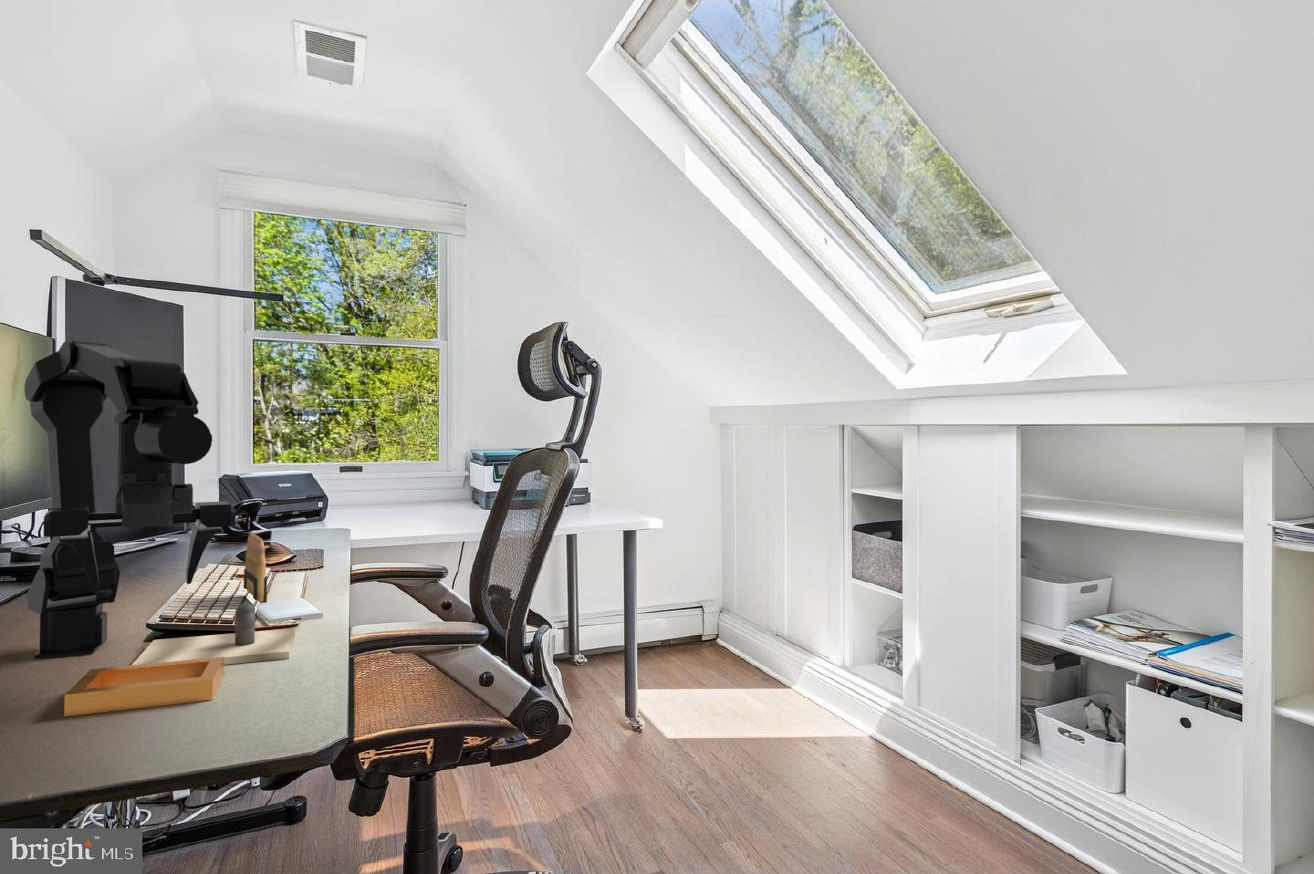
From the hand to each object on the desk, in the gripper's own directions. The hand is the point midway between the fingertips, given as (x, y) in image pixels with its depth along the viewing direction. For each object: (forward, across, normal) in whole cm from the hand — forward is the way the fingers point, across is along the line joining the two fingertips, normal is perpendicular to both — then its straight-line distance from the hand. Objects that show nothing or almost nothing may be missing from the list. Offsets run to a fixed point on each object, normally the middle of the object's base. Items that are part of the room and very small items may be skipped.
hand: (144, 587), depth 87 cm
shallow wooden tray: (+12, +1, -5) cm, 13 cm away
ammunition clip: (+12, +18, +39) cm, 45 cm away
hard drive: (+12, +21, +26) cm, 36 cm away
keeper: (+12, +9, +8) cm, 17 cm away
